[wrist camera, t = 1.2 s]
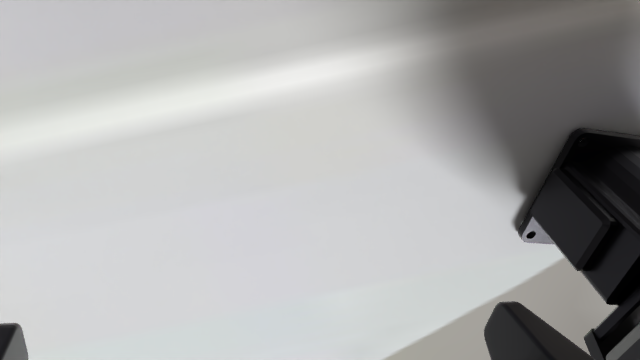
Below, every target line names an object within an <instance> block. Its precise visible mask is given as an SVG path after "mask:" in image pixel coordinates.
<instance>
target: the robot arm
mask: <svg viewBox="0 0 640 360" xmlns="http://www.w3.org/2000/svg"><path fill="white" fill-rule="evenodd" d="M582 138H583V140H582V141H580V140H581V139H582ZM579 141H580V142H579ZM518 234H519V236H520V237H521V239H522V240H523V241H524V242H528V243H543V244H555V245H556V246H557V248H558V249H559V250H560V251H561V253H562V254H563V255H564V256H565V257H566V259H567V260H568V261H569V262H570V264H571V265H572V266H573V267H574V269H575V270H577V271H581V273H582V274H583V275H584V276H585V278H586V279H587V280H588V281H589V282H590V284H591V285H592V286H593V287H594V289H595V290H596V291H597V292H598V294H599V295H600V296H601V297H602V298H603V300H604V301H605V302H606V303H607V304H609V305H617V307H616V308H615V309H614V310H613V311H612V312H611V313H610V314H609V315H608V317H606V318H605V319H604V320H603V321H602V322H601V323H600V324H599V326H597V328H595V329H591V330H590V331H589V332H588V333H587V335H585V336H584V340H585V343H586V345H587V347H588V350H589V352H590V355H591V356H590V355H588V354H587V353H586V352H585V351H583V350H582V349H581V348H579V347H578V346H577V345H575V344H574V343H573V342H571V341H570V340H569V339H567V338H566V337H565V336H563V335H562V334H561V333H559V332H558V331H556V330H555V329H554V328H553V327H551V326H550V325H549V324H547V323H546V322H545V321H543V320H542V319H541V318H539V317H538V316H536V315H535V314H534V313H532V312H531V311H530V310H528V309H527V308H526V307H524V306H523V305H522V304H520V303H518V302H514V301H512V302H500V303H498V304H497V305H496V306H495V308H494V310H493V312H492V314H491V316H490V318H489V320H488V322H487V324H486V326H485V330H484V336H485V341H486V344H487V347H488V351H489V354H490V357H491V360H640V136H636V135H629V134H621V133H614V132H607V131H600V130H592V129H585V128H582V129H578V130H576V131H574V132H573V133H572V134H571V136H570V137H569V139H568V141H567V142H566V144H565V146H564V148H563V150H562V152H561V153H560V155H559V157H558V159H557V161H556V163H555V164H554V166H553V168H552V170H551V172H550V174H549V175H548V177H547V179H546V181H545V183H544V185H543V186H542V188H541V190H540V192H539V194H538V196H537V197H536V199H535V201H534V203H533V205H532V207H531V208H530V210H529V212H528V214H527V216H526V218H525V219H524V221H523V223H522V225H521V227H520V229H519V231H518ZM0 360H28V352H27V348H26V344H25V339H24V335H23V331H22V328H21V326H20V325H19V324H18V323H3V324H0Z"/></svg>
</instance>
